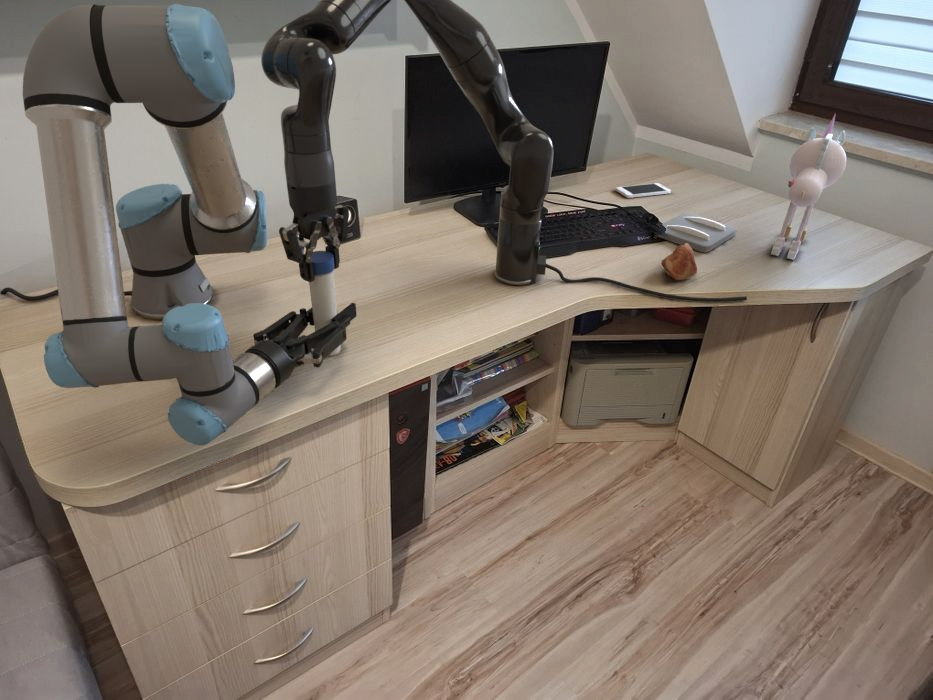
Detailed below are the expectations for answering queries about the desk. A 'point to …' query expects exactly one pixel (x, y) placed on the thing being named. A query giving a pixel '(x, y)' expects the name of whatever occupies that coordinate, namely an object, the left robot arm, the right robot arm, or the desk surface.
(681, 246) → the brown lumpy piece
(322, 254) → the lid
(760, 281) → the desk surface
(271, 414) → the desk surface
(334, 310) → the bottle
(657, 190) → the smartphone
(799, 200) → the toy
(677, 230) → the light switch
